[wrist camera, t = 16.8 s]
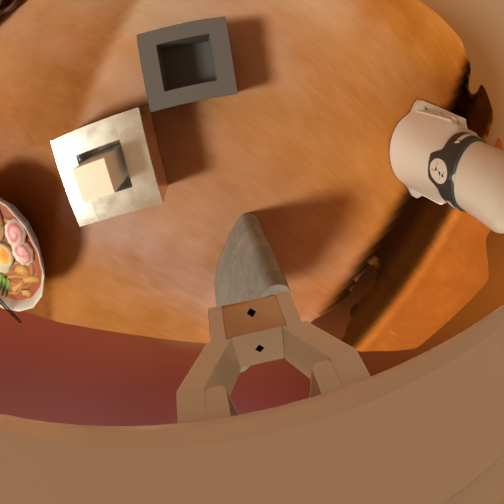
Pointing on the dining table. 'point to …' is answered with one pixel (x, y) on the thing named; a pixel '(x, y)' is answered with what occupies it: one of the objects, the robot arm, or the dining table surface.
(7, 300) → the ramen bowl
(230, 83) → the grey square socket block
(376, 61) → the dining table surface
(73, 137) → the port box
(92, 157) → the plug
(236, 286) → the hip flask
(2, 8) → the dish
